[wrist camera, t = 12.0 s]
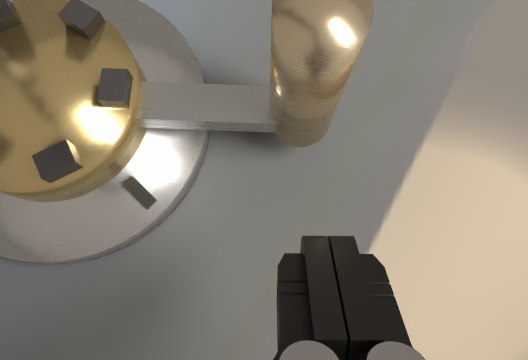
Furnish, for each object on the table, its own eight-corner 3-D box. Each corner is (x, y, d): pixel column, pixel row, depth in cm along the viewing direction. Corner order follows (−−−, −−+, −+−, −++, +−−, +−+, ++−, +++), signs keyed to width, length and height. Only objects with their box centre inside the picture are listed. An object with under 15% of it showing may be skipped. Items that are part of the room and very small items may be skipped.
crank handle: (-55, 198, 21) (-295, 136, 12) (-16, 26, 23) (-191, -133, 14) (329, 213, 21) (377, 162, 12) (329, 37, 23) (369, -117, 14)
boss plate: (-110, 236, 22) (-141, 233, 21) (-14, -13, 26) (-33, -33, 24) (177, 287, 22) (170, 287, 20) (233, 23, 25) (231, 5, 24)
